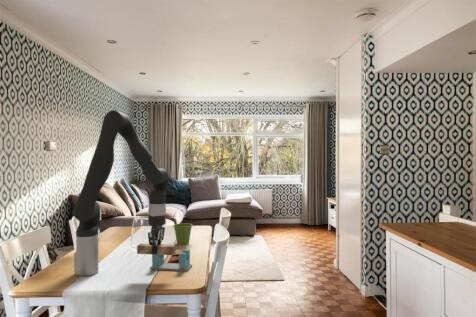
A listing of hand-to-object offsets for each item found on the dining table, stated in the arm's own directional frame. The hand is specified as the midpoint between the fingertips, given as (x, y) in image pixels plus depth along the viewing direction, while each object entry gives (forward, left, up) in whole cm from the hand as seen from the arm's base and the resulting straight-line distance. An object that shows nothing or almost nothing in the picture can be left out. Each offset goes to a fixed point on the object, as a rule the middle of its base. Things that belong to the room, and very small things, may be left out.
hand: (156, 252), depth 159 cm
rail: (0, 0, 0) cm, 0 cm away
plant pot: (-8, +60, -11) cm, 62 cm away
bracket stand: (+2, +12, -10) cm, 16 cm away
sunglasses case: (0, +27, -11) cm, 29 cm away
